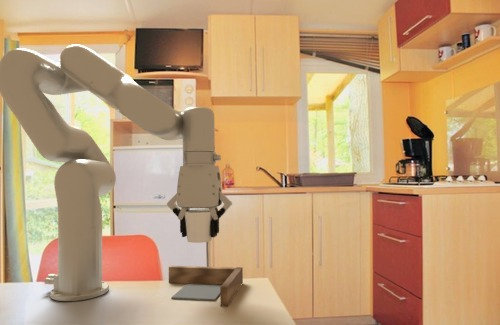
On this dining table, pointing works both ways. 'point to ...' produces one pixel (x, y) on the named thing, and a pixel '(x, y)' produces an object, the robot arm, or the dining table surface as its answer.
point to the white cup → (198, 225)
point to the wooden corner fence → (210, 278)
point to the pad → (198, 292)
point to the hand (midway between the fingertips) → (199, 235)
